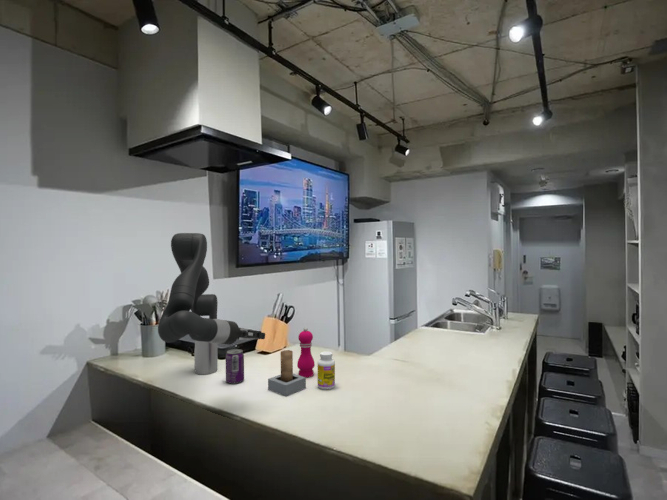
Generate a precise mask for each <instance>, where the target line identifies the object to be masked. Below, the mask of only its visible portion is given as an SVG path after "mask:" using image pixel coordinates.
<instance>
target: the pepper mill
mask: <svg viewBox="0 0 667 500" xmlns="http://www.w3.org/2000/svg"><path fill="white" fill-rule="evenodd" d="M313 338H314V335H313V333H312V332H311V331H309V330H308V327H304V328H303V330H302V331H301V332H299V334H298V341H299V347H300V354H299V355H300V356H299V357H298V360H297V362H296V363H297V369H298V375H299V376H302V377H306V379H308V378H311V377H313V376H314V374H315V373H314V367H315V360H314V357H313V355H312V350H311V349H312V348H311V347H312V346H313V345H312V344H313V343H312V340H314V339H313Z"/></svg>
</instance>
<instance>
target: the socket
mask: <svg viewBox="0 0 667 500" xmlns="http://www.w3.org/2000/svg"><path fill="white" fill-rule="evenodd" d="M267 385H268V386H267V390H268V391H271V392H274V393H277V394H279V395H281V396H284V397H289V396H290V395H293V394H295V393H298V392H299V391H303V390H305V389H306V388H307V378H306V377H302V376H299V374H296V373H293V380H291V381H289V382H284V381H281V374H278V375H275V376H273V377H270V378H268V379H267Z"/></svg>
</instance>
